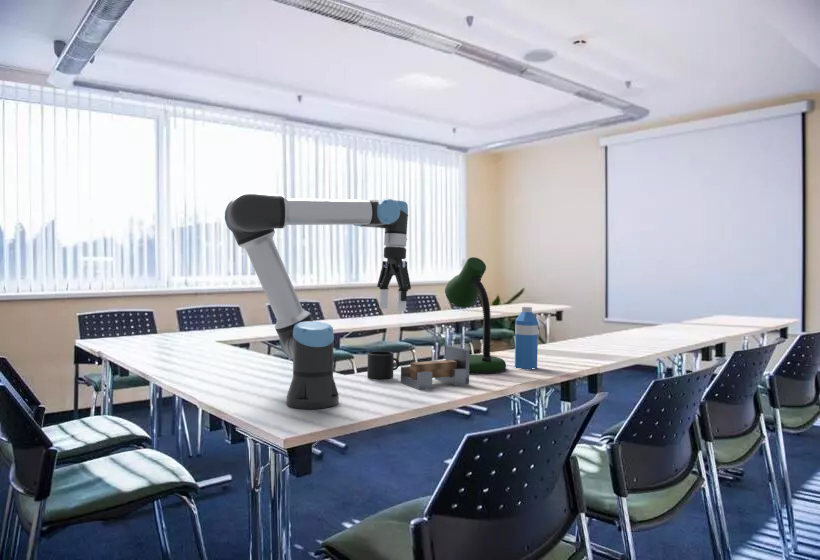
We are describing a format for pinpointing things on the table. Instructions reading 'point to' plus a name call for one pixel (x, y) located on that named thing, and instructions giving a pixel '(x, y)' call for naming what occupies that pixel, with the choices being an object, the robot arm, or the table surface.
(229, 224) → the robot arm
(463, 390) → the table surface
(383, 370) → the mug
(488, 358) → the desk lamp
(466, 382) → the cup bracket
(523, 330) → the water bottle
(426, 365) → the brown wooden bar
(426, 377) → the saddle bracket
